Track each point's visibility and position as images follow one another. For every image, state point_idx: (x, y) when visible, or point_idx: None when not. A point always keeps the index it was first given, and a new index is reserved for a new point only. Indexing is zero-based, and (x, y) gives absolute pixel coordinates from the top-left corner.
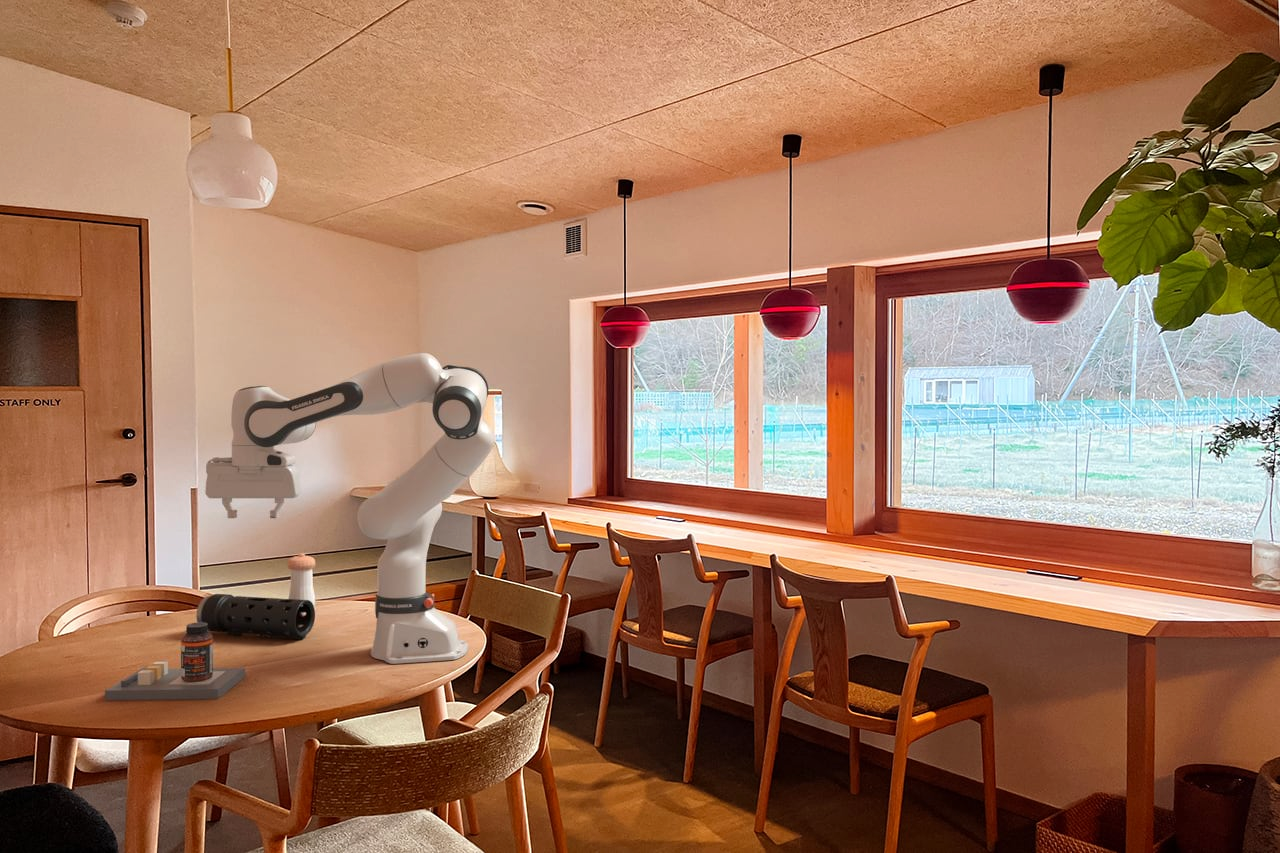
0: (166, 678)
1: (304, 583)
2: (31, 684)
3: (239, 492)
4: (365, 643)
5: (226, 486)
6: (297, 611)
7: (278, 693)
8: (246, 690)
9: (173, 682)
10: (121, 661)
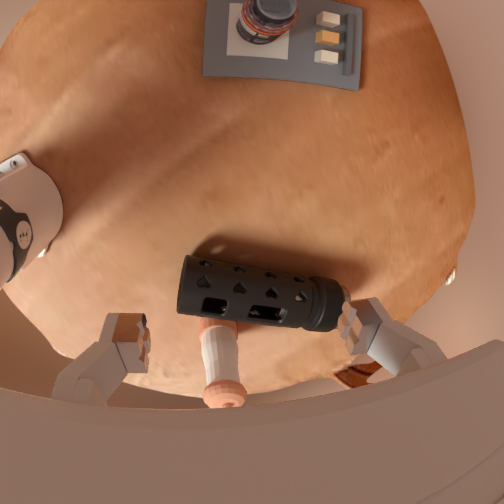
0: (305, 37)
1: (213, 365)
2: (446, 100)
3: (381, 420)
4: (90, 247)
5: (476, 422)
6: (184, 275)
7: (128, 13)
8: (178, 20)
9: None
10: (395, 173)
